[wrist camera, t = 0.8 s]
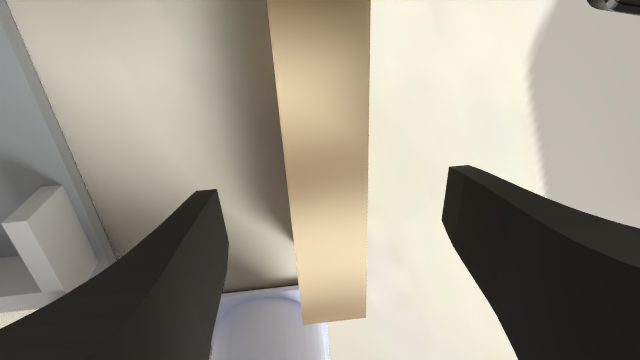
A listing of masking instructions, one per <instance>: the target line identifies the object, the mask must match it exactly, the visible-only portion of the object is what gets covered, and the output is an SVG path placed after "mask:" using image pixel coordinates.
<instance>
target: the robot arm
mask: <svg viewBox="0 0 640 360" xmlns="http://www.w3.org/2000/svg"><path fill="white" fill-rule="evenodd" d="M442 222H443V225H444V227H445V229H446V232H447V234H448V236H449V238H450V240H451V243H452V245H453V247H454V248H455V250H456V252H457V253H458V255H459V256H460V258H461V260H462V261H463V263H464V264H465V266H466V268H467V269H468V271H469V272H470V274H471V275H472V277H473V278H474V280H475V282H476V283H477V285H478V286H479V288H480V289H481V291H482V292H483V294H484V296H485V297H486V299H487V300H488V302H489V303H490V305H491V307H492V308H493V310H494V312H495V314H496V315H497V317H498V319H499V321H500V323H501V325H502V327H503V329H504V331H505V333H506V335H507V337H508V339H509V341H510V343H511V345H512V347H513V349H514V351H515V353H516V356H517V358H518V360H640V229H639V228H636V227H632V226H628V225H624V224H620V223H617V222H614V221H610V220H607V219H604V218H601V217H598V216H594V215H591V214H588V213H585V212H582V211H579V210H576V209H574V208H570V207H568V206H565V205H563V204H560V203H558V202H555V201H552V200H550V199H547V198H545V197H543V196H540V195H538V194H535V193H533V192H531V191H528V190H526V189H524V188H522V187H519V186H517V185H515V184H513V183H510V182H508V181H506V180H504V179H501V178H499V177H497V176H495V175H492V174H490V173H488V172H485V171H483V170H481V169H478V168H475V167H472V166H469V165H464V166H454V167H449V171H448V178H447V186H446V193H445V200H444V207H443V214H442ZM228 247H229V241H228V236H227V232H226V227H225V223H224V219H223V214H222V210H221V205H220V201H219V196H218V192H217V189H212V190H202V191H196V192H195V193H193V194H192V195H191V196H190V197H189V198H188V199H187V200H186V201H185V202H184V203H183V204H182V205H181V206H180V207H179V208H178V209H177V210H176V211H175V212H173V213H172V214H171V215H170V216H169V217H168V218H167V219H166V220H165V221H164V222H163V223H162V224H161V225H160V226H159V227H157V228H156V229H155V230H154V231H153V232H152V233H150V234H149V235H148V236H147V237H146V238H145V239H143V240H142V241H141V242H140V243H139V244H137V245H136V246H135V247H134V248H133V249H132V250H130V251H129V252H128V253H126V254H125V255H124V256H122V257H121V258H120V259H118V260H117V261H116V262H114V263H113V264H111V265H110V266H109V267H107V268H106V269H104V270H103V271H102V272H100V273H99V274H97V275H96V276H94V277H93V278H91V279H89V280H88V281H86V282H84V283H83V284H81V285H79V286H78V287H76V288H75V289H73V290H71V291H70V292H68V293H66V294H65V295H63V296H62V297H60V298H58V299H56V300H55V301H53V302H51V303H49V304H48V305H46V306H44V307H42V308H40V309H38V310H36V311H35V312H33V313H31V314H29V315H27V316H25V317H23V318H21V319H19V320H17V321H15V322H13V323H11V324H9V325H7V326H5V327H3V328H1V329H0V360H209V353H210V347H211V346H212V355H211V360H329V345H328V328H327V322H325V323H316V324H308V325H303V320H302V311H301V302H300V293H299V285H296V286H287V287H278V288H269V289H261V290H252V291H243V292H234V293H225V294H222V290H223V286H224V281H225V276H226V271H227V261H228Z"/></svg>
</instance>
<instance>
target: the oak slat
mask: <svg viewBox="0 0 640 360" xmlns="http://www.w3.org/2000/svg"><path fill="white" fill-rule="evenodd" d="M267 9H268V18H269V27H270V36H271V44H272V53H273V62H274V71H275V80H276V89H277V98H278V107H279V116H280V124H281V133H282V142H283V151H284V160H285V169H286V178H287V187H288V196H289V204H290V213H291V222H292V231H293V240H294V249H295V258H296V267H297V276H298V285H299V293H300V302H301V311H302V320H303V325H308V324H316V323H325V322H333V321H341V320H349V319H358V318H366V276H367V207H368V138H369V69H370V0H267Z"/></svg>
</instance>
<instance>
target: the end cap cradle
mask: <svg viewBox="0 0 640 360" xmlns="http://www.w3.org/2000/svg"><path fill="white" fill-rule="evenodd" d="M116 261H117V259H116V257H115V254H114V252H113V250H112V247H111V245H110V243H109V241H108V238H107V236H106V234H105V231H104V229H103V227H102V224H101V222H100V220H99V217H98V215H97V213H96V210H95V208H94V206H93V203H92V201H91V199H90V196H89V194H88V192H87V189H86V187H85V185H84V182H83V180H82V178H81V175H80V173H79V171H78V168H77V166H76V164H75V161H74V159H73V157H72V154H71V152H70V150H69V147H68V145H67V143H66V140H65V138H64V136H63V133H62V131H61V129H60V126H59V124H58V122H57V120H56V117H55V115H54V113H53V110H52V108H51V106H50V103H49V101H48V99H47V96H46V94H45V92H44V89H43V87H42V85H41V82H40V80H39V78H38V75H37V73H36V71H35V68H34V66H33V64H32V61H31V59H30V57H29V54H28V52H27V50H26V47H25V45H24V43H23V40H22V38H21V36H20V33H19V31H18V29H17V26H16V24H15V22H14V19H13V17H12V15H11V12H10V10H9V8H8V5H7V3H6V1H5V0H0V313H4V312H13V311H22V310H30V309H39V308H42V307H44V306H46V305H48V304H49V303H51V302H53V301H55V300H56V299H58V298H60V297H62V296H63V295H65V294H66V293H68V292H70V291H71V290H73V289H75V288H76V287H78V286H79V285H81V284H83V283H84V282H86V281H88V280H89V279H91V278H93V277H94V276H96V275H97V274H99V273H100V272H102V271H103V270H104V269H106V268H107V267H109V266H110V265H111V264H113V263H114V262H116Z"/></svg>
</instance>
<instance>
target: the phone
mask: <svg viewBox="0 0 640 360" xmlns="http://www.w3.org/2000/svg"><path fill="white" fill-rule="evenodd" d="M587 2H588V3H589V5H590V6H591V7H593V8H596V9H599V10H606V11H612V12H619V13H626V14H632V15H639V16H640V0H587Z"/></svg>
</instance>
